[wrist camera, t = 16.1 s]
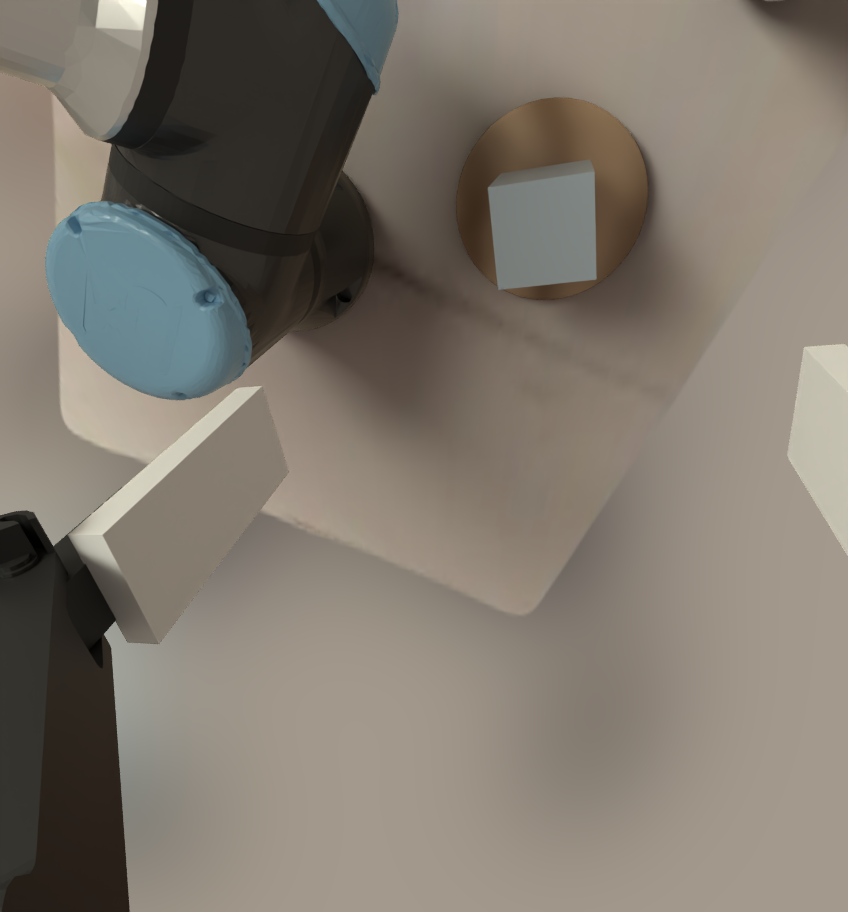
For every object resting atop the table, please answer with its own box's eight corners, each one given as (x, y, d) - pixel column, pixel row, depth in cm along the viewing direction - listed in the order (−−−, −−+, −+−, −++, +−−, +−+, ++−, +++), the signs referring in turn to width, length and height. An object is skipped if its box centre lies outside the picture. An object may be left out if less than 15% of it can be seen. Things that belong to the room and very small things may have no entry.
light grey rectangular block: (508, 261, 44) (497, 289, 38) (501, 173, 42) (487, 187, 35) (592, 251, 43) (596, 279, 36) (590, 159, 40) (594, 171, 33)
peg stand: (470, 302, 51) (447, 350, 41) (447, 116, 44) (413, 121, 35) (644, 284, 47) (663, 332, 38) (647, 79, 41) (672, 73, 31)
